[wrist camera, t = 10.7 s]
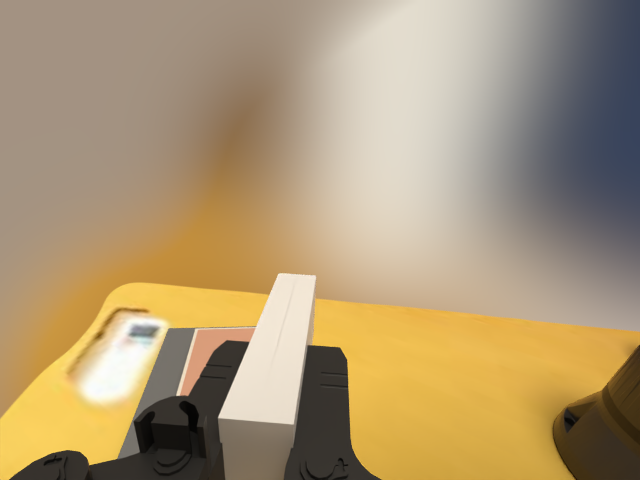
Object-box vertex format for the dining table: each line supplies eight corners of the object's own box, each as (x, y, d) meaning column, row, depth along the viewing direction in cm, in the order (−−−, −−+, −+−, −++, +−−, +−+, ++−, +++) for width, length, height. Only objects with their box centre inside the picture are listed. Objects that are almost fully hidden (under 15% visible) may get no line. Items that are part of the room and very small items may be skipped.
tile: (259, 444, 36) (261, 340, 50) (259, 427, 34) (262, 325, 48) (167, 452, 34) (196, 342, 48) (163, 435, 32) (195, 327, 46)
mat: (290, 328, 54) (291, 325, 53) (307, 512, 31) (307, 509, 31) (169, 331, 50) (168, 328, 50) (87, 542, 27) (85, 539, 27)
